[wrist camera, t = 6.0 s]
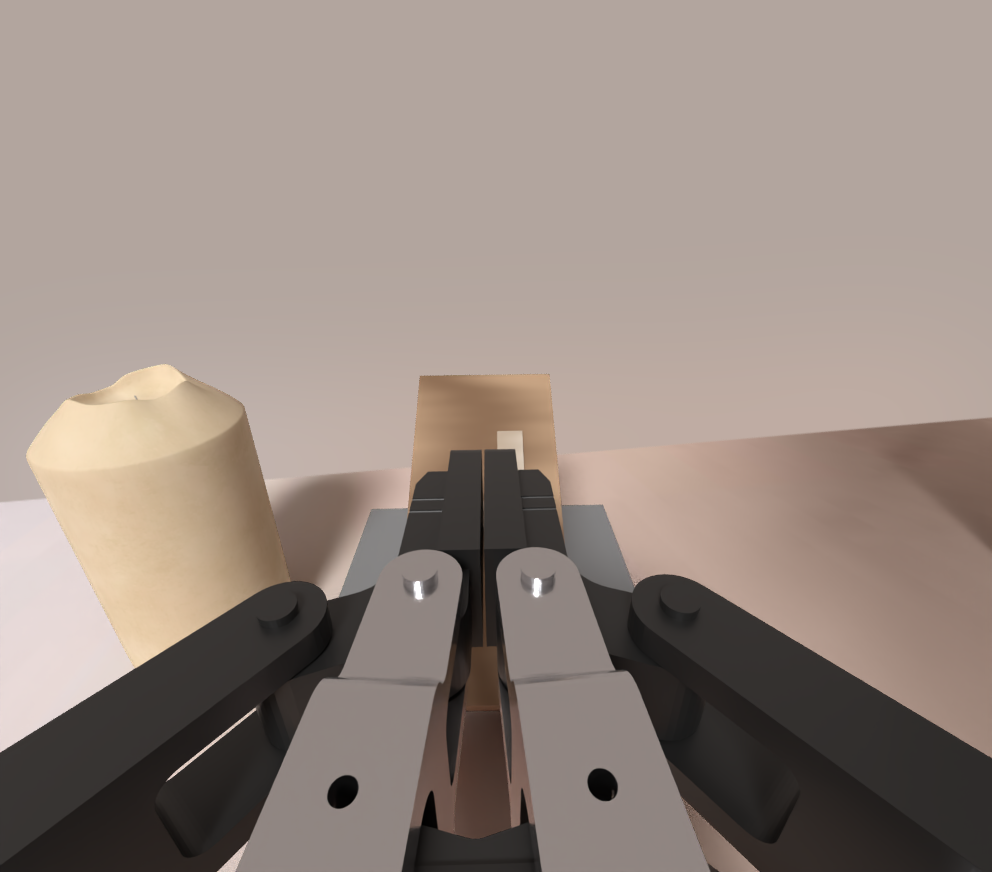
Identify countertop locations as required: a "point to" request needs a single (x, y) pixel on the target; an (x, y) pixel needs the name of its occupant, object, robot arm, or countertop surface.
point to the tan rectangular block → (477, 426)
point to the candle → (160, 503)
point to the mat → (583, 539)
